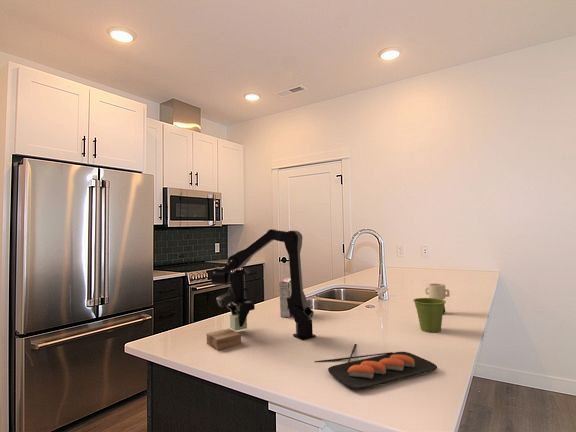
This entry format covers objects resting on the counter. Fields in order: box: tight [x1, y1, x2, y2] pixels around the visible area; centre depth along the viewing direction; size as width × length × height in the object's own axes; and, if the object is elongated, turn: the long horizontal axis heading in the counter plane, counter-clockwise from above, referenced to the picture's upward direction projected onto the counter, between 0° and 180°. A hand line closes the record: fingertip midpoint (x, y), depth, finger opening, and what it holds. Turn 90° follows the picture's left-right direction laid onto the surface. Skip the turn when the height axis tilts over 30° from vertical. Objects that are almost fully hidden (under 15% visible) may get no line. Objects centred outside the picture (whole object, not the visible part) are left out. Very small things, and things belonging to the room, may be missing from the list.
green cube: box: [229, 314, 248, 332], centre depth 134 cm, size 5×5×5 cm
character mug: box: [424, 283, 451, 313], centre depth 155 cm, size 11×7×13 cm, turn 46°
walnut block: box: [206, 328, 242, 351], centre depth 120 cm, size 9×9×4 cm
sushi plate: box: [314, 343, 438, 390], centre depth 100 cm, size 29×30×4 cm
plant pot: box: [412, 297, 447, 333], centre depth 130 cm, size 12×12×11 cm
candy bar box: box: [278, 277, 293, 318], centre depth 160 cm, size 11×5×16 cm, turn 168°
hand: (238, 324), depth 134 cm, fingers closed on green cube, 5 cm apart
